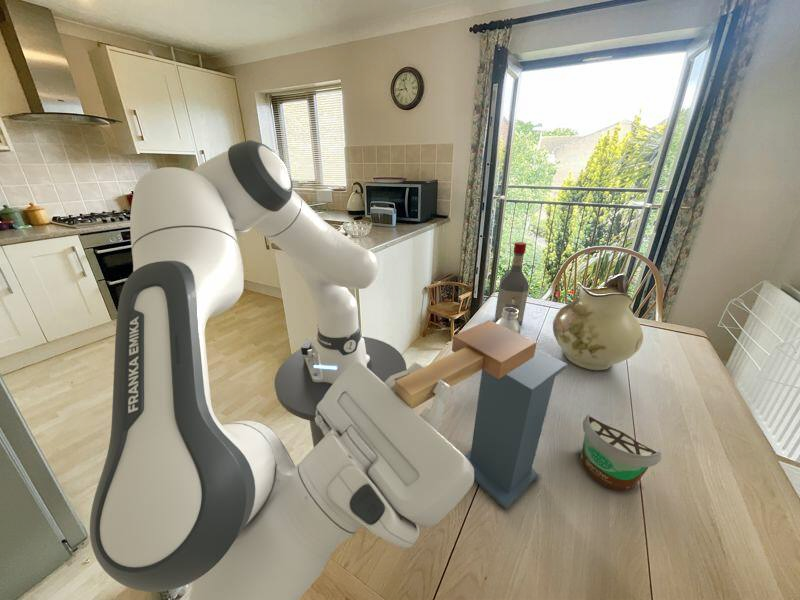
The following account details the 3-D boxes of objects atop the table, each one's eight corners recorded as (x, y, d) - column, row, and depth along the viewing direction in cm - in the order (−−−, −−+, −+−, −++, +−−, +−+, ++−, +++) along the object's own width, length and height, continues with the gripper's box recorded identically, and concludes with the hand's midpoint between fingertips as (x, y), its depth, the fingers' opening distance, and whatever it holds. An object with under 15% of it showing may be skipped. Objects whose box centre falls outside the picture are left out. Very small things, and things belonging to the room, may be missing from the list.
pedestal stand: (457, 464, 61) (470, 353, 51) (489, 439, 67) (507, 335, 56) (505, 509, 53) (532, 389, 43) (537, 477, 59) (567, 363, 48)
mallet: (382, 383, 38) (382, 366, 37) (487, 333, 49) (489, 319, 48) (426, 424, 32) (427, 405, 31) (533, 357, 43) (537, 341, 42)
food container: (562, 463, 61) (573, 425, 57) (575, 446, 65) (587, 410, 61) (634, 512, 53) (654, 472, 49) (645, 490, 56) (665, 451, 52)
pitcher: (558, 376, 86) (579, 294, 76) (538, 334, 108) (553, 265, 97) (647, 386, 83) (682, 301, 73) (609, 340, 104) (632, 269, 94)
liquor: (522, 330, 110) (537, 247, 98) (495, 327, 112) (507, 245, 100) (519, 318, 118) (533, 241, 106) (494, 315, 120) (505, 239, 108)
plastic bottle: (509, 384, 83) (521, 318, 75) (484, 375, 87) (493, 311, 78) (515, 371, 88) (527, 308, 80) (491, 364, 92) (500, 302, 83)
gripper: (322, 423, 42) (393, 351, 46) (421, 565, 28) (512, 441, 31) (295, 402, 38) (374, 325, 42) (392, 554, 24) (501, 414, 27)
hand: (434, 375), depth 37 cm, fingers closed on mallet, 3 cm apart
